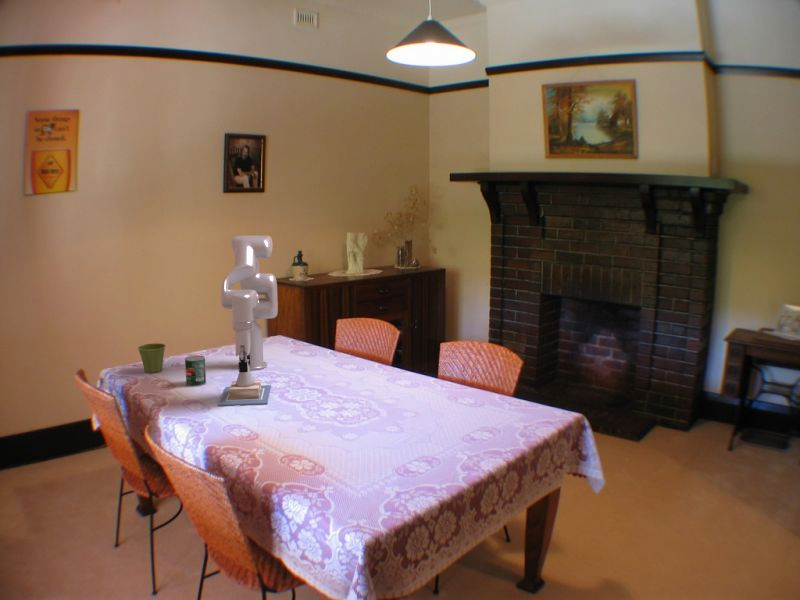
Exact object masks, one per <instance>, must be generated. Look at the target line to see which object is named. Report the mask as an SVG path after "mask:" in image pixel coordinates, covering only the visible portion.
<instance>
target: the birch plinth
mask: <svg viewBox="0 0 800 600" xmlns="http://www.w3.org/2000/svg"><path fill="white" fill-rule="evenodd" d="M236 381H237V380H232V381H231V384H230V386H229V387H230V388H229V400H234V399H259V396H260V392H261V386H262V380H261V379H254V381H255V384H253V385H251V386H247V387H241V386H237V385H235V384H236Z"/></svg>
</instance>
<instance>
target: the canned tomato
mask: <svg viewBox="0 0 800 600" xmlns="http://www.w3.org/2000/svg"><path fill="white" fill-rule="evenodd" d="M184 364H185V366H184V367H185V383H186V384H185V385H186V386H187V385H188V387H201V386H204V385H206V384H207V376H206V375H207V373H206V358H205V356H204V355H191V356H187V357H185V358H184Z"/></svg>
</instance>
